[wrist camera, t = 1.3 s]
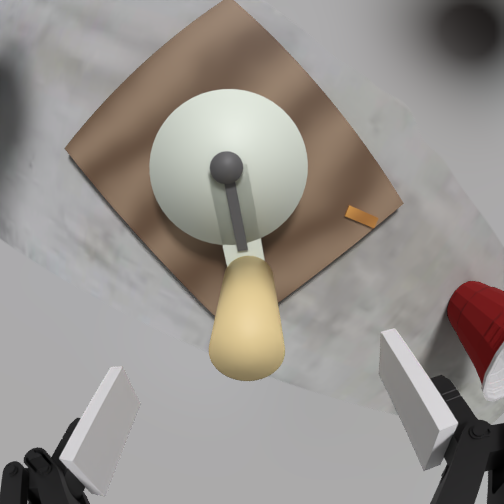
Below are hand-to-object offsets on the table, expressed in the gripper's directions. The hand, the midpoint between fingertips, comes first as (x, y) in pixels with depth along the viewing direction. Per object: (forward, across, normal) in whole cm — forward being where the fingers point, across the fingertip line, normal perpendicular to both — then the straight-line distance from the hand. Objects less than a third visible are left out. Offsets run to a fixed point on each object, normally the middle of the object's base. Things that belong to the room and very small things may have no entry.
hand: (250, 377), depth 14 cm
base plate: (+15, 0, +10) cm, 18 cm away
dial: (+14, 0, +7) cm, 15 cm away
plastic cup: (+15, +24, -9) cm, 30 cm away
